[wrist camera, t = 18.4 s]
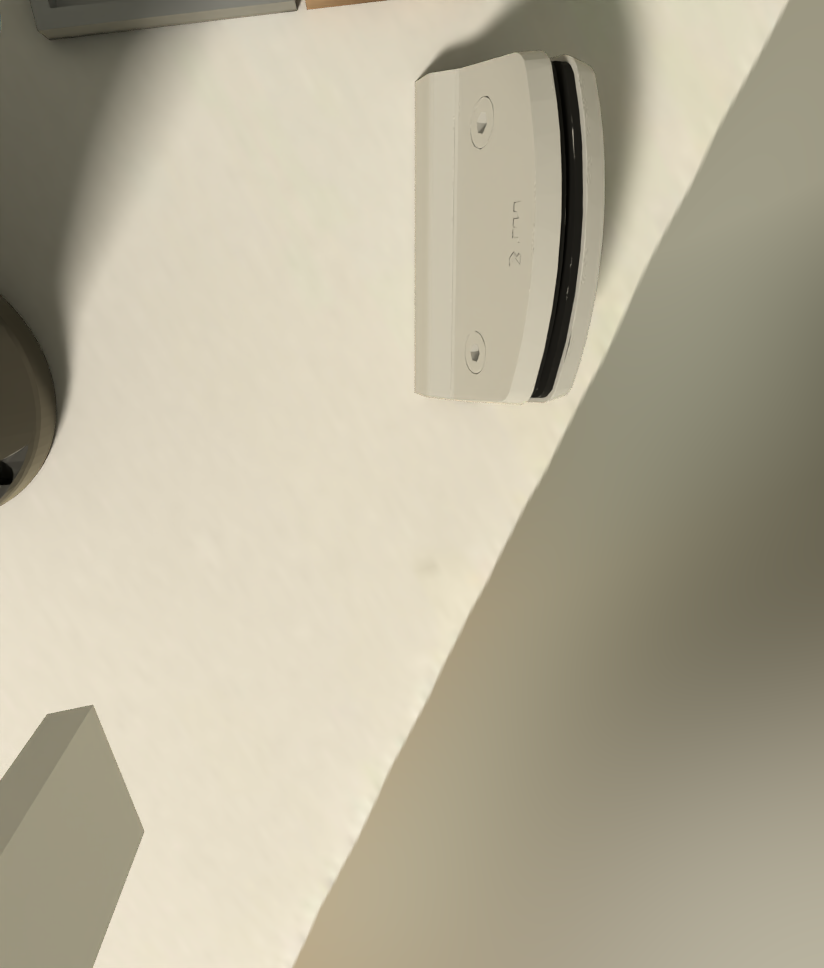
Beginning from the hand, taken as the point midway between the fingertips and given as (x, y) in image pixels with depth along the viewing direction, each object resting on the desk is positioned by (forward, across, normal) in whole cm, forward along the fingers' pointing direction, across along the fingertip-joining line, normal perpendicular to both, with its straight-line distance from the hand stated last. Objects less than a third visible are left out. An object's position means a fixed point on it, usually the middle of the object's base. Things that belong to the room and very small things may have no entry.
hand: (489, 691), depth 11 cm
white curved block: (+28, -6, -7) cm, 30 cm away
